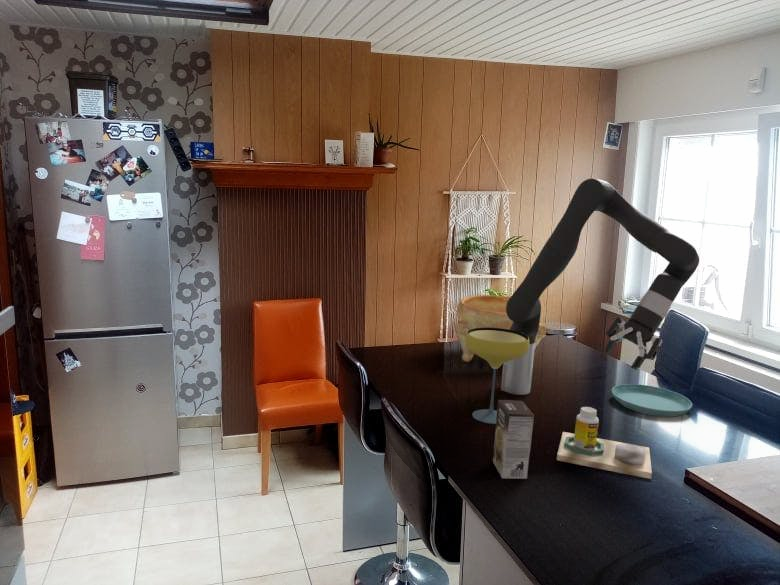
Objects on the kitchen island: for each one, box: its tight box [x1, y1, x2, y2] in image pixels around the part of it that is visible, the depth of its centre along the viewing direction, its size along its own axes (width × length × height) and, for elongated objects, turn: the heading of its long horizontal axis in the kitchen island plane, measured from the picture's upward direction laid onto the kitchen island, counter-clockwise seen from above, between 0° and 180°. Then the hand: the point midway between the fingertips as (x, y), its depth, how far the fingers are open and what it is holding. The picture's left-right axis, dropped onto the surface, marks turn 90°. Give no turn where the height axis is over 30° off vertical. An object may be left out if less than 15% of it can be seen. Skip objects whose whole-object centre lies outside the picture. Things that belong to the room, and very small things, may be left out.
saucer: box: [611, 383, 693, 418], centre depth 198 cm, size 24×24×3 cm
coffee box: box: [492, 399, 535, 480], centre depth 145 cm, size 9×6×16 cm
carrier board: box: [556, 431, 653, 480], centre depth 157 cm, size 22×16×4 cm
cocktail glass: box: [466, 328, 529, 425], centre depth 178 cm, size 18×18×25 cm
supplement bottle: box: [574, 406, 600, 450], centre depth 158 cm, size 6×6×10 cm
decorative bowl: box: [453, 294, 547, 363], centre depth 241 cm, size 34×35×23 cm
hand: (620, 361), depth 168 cm, fingers open, 8 cm apart
